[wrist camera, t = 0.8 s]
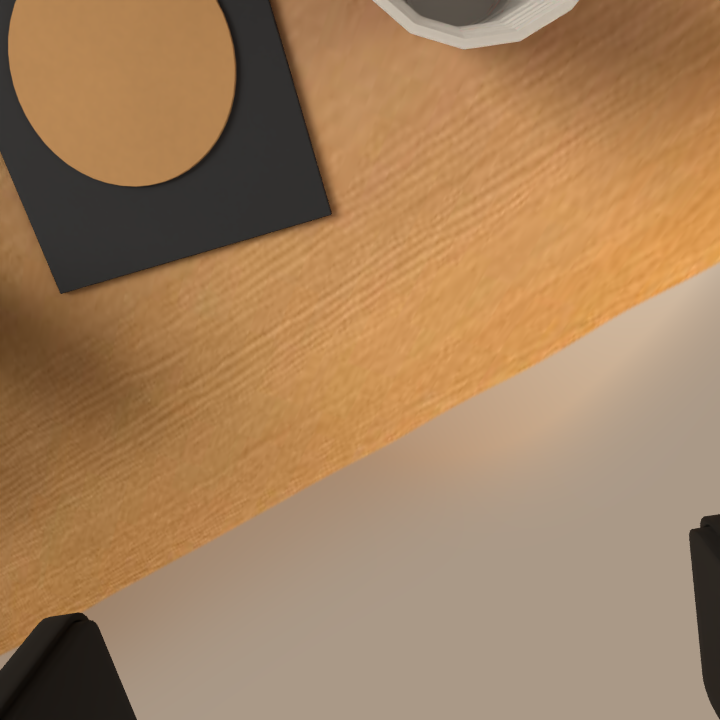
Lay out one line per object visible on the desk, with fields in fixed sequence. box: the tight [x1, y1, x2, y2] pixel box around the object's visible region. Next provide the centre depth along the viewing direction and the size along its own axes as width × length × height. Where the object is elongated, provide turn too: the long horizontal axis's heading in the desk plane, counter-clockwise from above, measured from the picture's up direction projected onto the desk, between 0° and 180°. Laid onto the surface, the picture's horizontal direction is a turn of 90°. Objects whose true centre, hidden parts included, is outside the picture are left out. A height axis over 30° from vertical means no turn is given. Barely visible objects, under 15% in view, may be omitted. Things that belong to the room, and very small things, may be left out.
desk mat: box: [0, 0, 332, 294], centre depth 35 cm, size 22×18×1 cm
